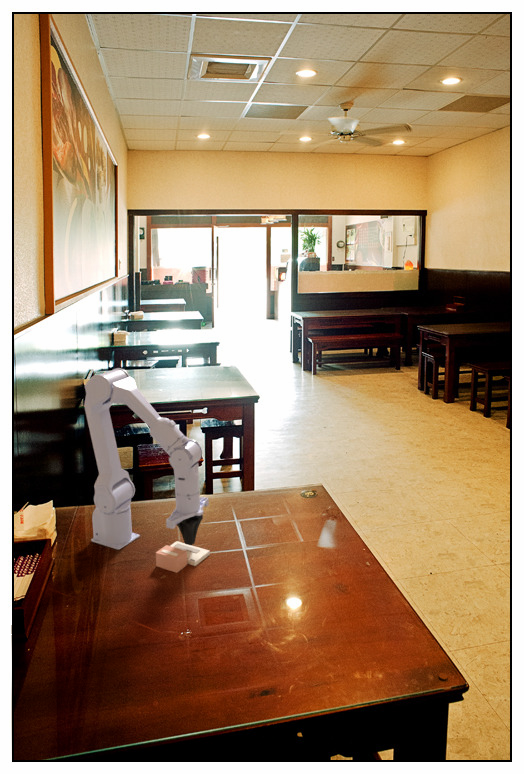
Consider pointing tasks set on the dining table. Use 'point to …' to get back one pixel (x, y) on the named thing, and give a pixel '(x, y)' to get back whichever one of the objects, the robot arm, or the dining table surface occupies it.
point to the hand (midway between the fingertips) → (189, 543)
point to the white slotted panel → (192, 552)
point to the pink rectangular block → (171, 558)
